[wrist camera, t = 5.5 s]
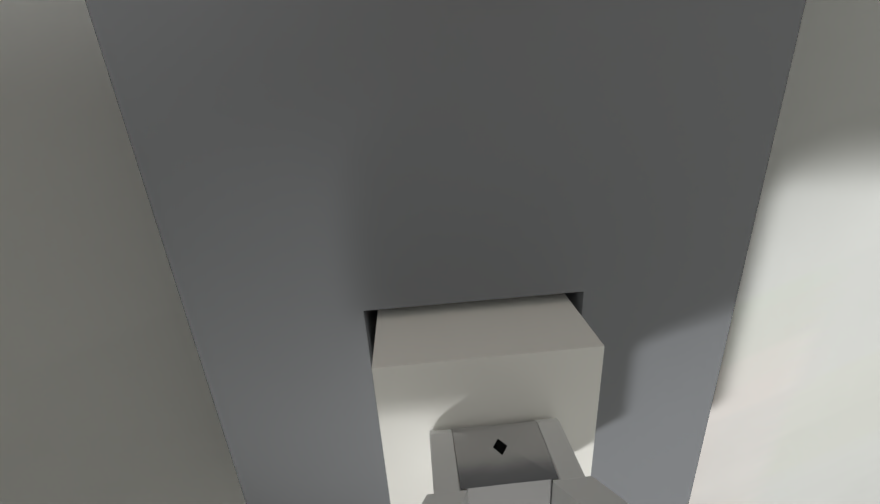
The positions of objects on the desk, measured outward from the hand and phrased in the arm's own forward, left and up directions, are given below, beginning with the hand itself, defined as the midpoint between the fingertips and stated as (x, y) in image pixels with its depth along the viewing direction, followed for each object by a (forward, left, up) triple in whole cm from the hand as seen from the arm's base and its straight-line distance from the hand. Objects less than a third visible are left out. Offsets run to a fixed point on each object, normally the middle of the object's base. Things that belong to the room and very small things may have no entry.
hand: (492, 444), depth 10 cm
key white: (0, 0, -4) cm, 4 cm away
